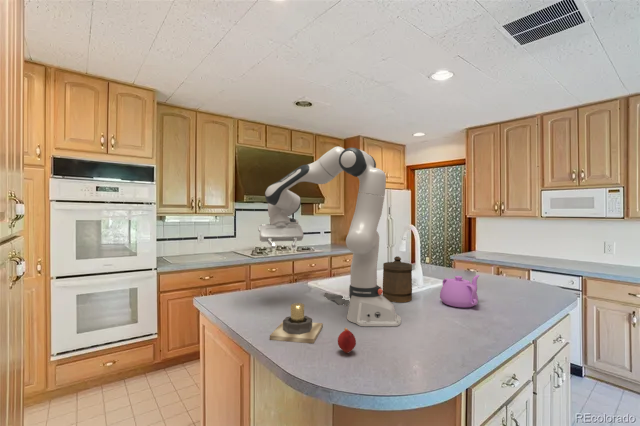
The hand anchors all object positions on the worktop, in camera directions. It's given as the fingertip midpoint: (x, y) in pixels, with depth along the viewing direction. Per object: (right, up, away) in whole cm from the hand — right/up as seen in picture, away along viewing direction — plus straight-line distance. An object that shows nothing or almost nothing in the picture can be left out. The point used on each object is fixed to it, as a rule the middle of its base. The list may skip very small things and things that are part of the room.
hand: (283, 247), depth 144 cm
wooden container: (+57, -30, +23) cm, 68 cm away
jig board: (+8, -30, -24) cm, 39 cm away
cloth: (+25, -30, +22) cm, 45 cm away
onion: (+25, -30, -41) cm, 57 cm away
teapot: (+86, -30, +14) cm, 92 cm away
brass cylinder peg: (+8, -28, -24) cm, 38 cm away
